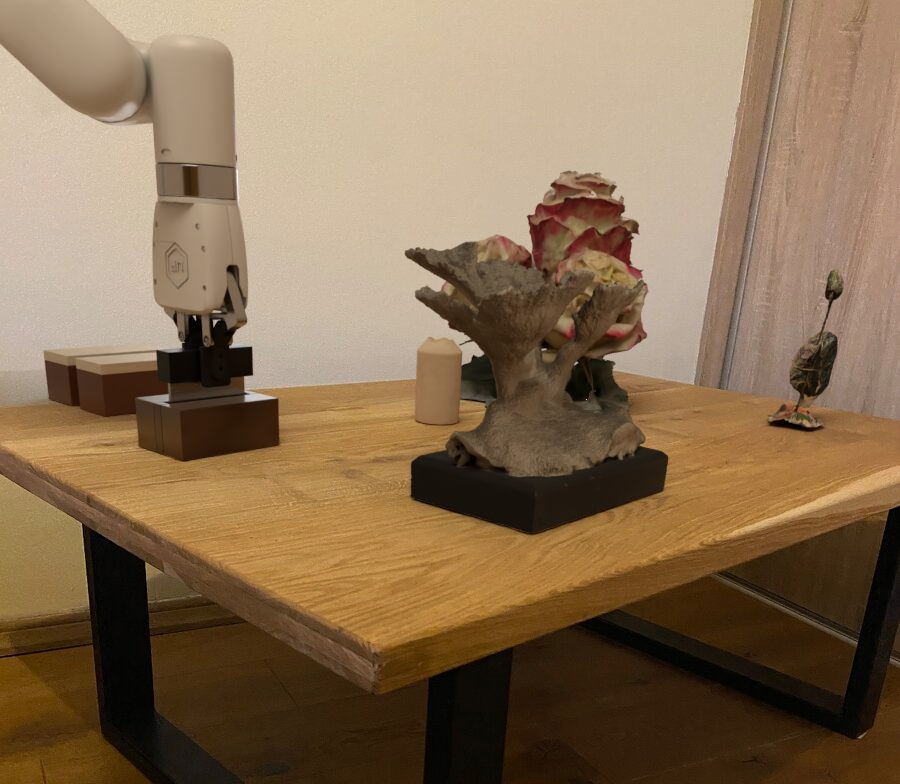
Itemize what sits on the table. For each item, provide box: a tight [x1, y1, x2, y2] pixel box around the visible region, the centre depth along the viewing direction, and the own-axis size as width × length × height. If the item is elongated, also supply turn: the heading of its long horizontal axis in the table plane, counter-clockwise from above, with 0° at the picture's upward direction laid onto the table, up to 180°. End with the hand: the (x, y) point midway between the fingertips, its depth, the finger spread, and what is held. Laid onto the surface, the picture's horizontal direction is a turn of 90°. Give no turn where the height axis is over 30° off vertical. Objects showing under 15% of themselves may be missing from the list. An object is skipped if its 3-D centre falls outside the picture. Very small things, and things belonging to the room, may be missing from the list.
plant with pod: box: [766, 268, 845, 429], centre depth 122 cm, size 8×11×20 cm
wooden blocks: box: [42, 343, 169, 418], centre depth 116 cm, size 14×14×6 cm
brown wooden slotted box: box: [135, 389, 280, 462], centre depth 96 cm, size 12×8×5 cm, turn 139°
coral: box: [404, 240, 669, 534], centre depth 83 cm, size 25×20×21 cm
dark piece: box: [156, 343, 254, 404], centre depth 95 cm, size 10×2×10 cm, turn 139°
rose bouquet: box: [440, 170, 650, 414], centre depth 126 cm, size 26×29×30 cm
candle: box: [414, 336, 463, 426], centre depth 114 cm, size 6×6×10 cm
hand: (207, 382), depth 95 cm, fingers closed on dark piece, 2 cm apart
